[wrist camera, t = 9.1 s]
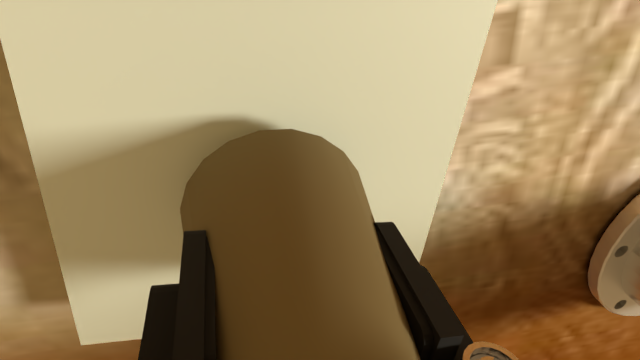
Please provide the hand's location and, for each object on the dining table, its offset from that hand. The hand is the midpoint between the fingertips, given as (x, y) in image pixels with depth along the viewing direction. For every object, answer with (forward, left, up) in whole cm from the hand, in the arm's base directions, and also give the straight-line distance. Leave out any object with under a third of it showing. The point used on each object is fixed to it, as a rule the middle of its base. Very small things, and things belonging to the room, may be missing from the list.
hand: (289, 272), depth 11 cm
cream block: (0, 0, -7) cm, 7 cm away
